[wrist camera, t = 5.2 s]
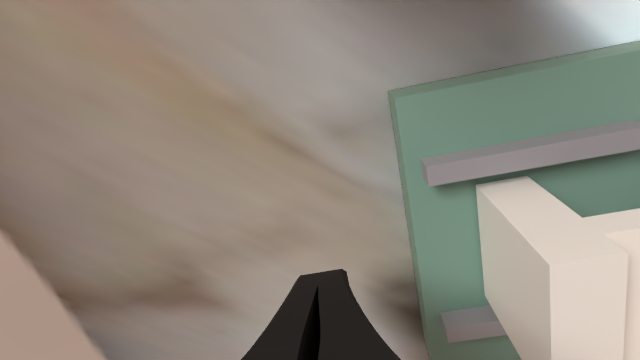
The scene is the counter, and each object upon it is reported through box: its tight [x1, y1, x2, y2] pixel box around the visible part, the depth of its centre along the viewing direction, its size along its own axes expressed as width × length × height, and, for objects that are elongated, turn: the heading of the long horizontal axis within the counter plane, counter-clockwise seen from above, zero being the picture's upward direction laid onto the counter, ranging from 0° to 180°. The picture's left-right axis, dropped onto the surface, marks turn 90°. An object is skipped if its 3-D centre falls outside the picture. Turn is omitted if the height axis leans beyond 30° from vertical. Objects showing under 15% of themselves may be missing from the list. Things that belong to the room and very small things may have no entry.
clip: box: [476, 176, 640, 360], centre depth 11 cm, size 4×4×4 cm
